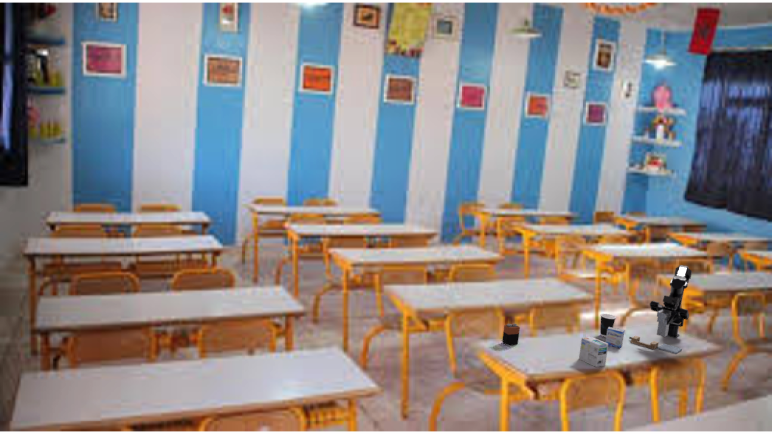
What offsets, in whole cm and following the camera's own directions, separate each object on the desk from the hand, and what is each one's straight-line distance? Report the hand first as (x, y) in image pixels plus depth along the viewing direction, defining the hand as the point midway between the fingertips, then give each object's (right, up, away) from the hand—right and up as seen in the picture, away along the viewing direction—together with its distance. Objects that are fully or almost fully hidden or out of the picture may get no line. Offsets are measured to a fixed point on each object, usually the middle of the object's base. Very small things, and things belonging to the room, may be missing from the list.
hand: (663, 323), depth 333 cm
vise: (-8, -12, +6) cm, 16 cm away
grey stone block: (-1, -7, +1) cm, 7 cm away
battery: (-80, -8, -11) cm, 81 cm away
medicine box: (-25, -12, 0) cm, 28 cm away
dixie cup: (-25, -9, +14) cm, 30 cm away
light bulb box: (-45, -14, -27) cm, 54 cm away
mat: (+4, -14, +1) cm, 14 cm away
